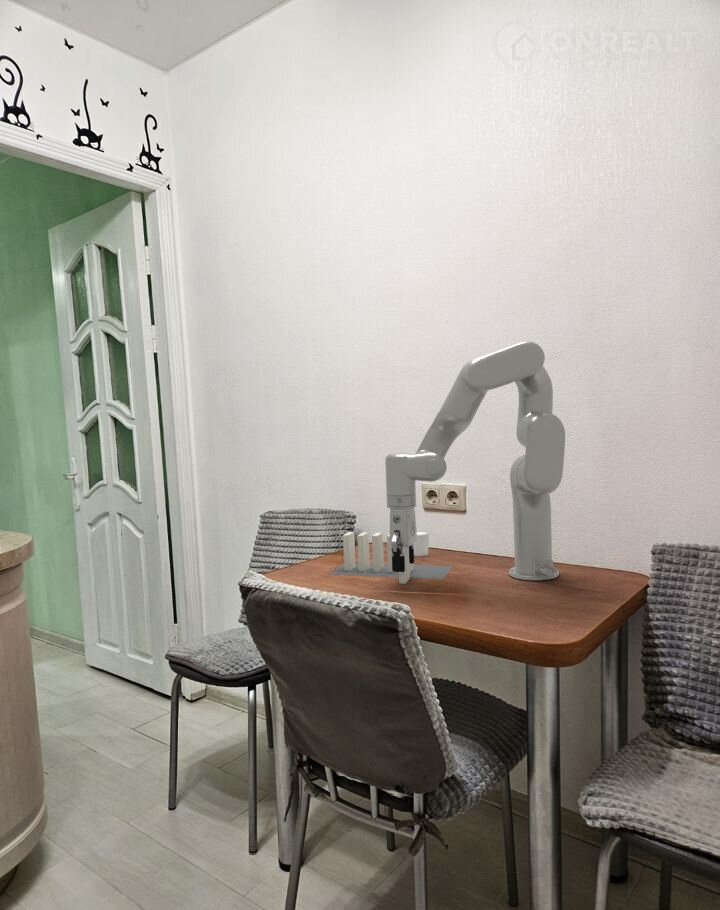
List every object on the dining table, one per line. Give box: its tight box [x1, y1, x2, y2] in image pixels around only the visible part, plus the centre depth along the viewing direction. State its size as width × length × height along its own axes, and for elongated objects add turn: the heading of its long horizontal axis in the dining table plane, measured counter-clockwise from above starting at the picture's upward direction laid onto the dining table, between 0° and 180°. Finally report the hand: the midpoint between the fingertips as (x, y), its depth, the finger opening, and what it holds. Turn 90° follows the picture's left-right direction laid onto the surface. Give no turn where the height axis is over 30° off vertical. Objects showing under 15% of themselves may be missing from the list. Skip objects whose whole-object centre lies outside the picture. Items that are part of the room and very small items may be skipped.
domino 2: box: [356, 531, 371, 571], centre depth 182 cm, size 2×5×10 cm, turn 162°
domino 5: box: [398, 546, 411, 584], centre depth 168 cm, size 2×5×10 cm, turn 162°
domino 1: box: [342, 531, 357, 571], centre depth 184 cm, size 2×5×10 cm, turn 161°
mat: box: [328, 562, 454, 580], centre depth 180 cm, size 32×14×1 cm, turn 71°
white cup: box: [413, 530, 430, 557], centre depth 199 cm, size 7×7×7 cm
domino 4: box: [386, 533, 393, 572], centre depth 180 cm, size 2×5×10 cm, turn 161°
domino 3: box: [371, 532, 385, 572], centre depth 181 cm, size 2×5×10 cm, turn 161°
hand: (403, 567), depth 168 cm, fingers open, 9 cm apart
